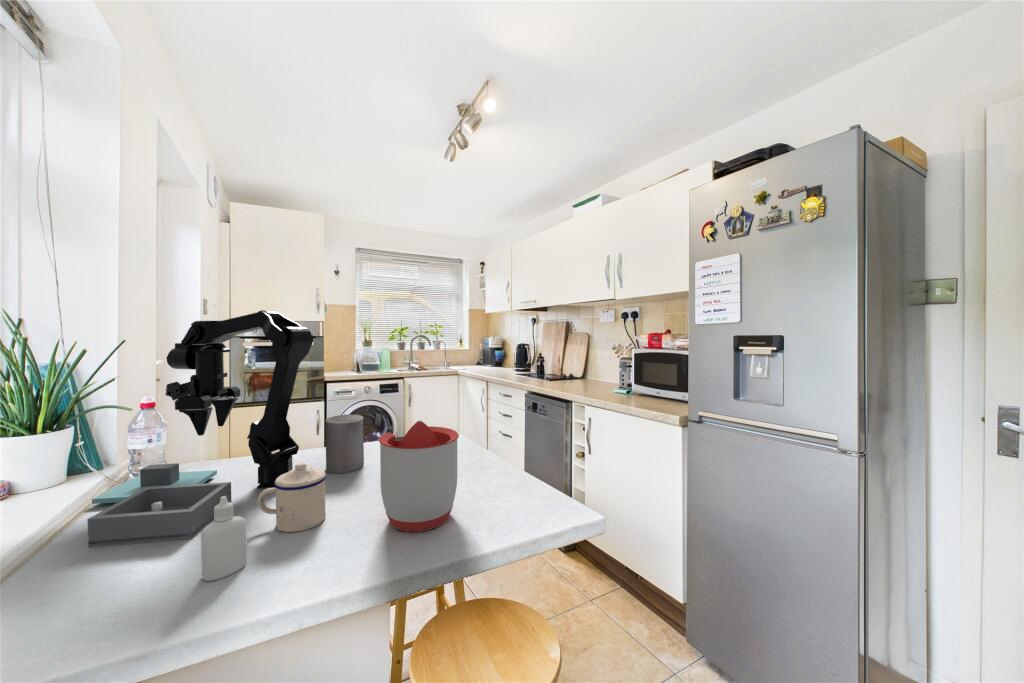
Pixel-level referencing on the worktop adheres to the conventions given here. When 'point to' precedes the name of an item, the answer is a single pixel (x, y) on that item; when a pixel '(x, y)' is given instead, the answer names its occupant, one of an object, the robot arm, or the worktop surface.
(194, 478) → the lid
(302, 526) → the teacup with lid
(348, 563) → the worktop surface
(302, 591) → the worktop surface
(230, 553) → the eye dropper bottle
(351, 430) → the pillar candle
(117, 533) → the tub
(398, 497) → the citrus juicer
